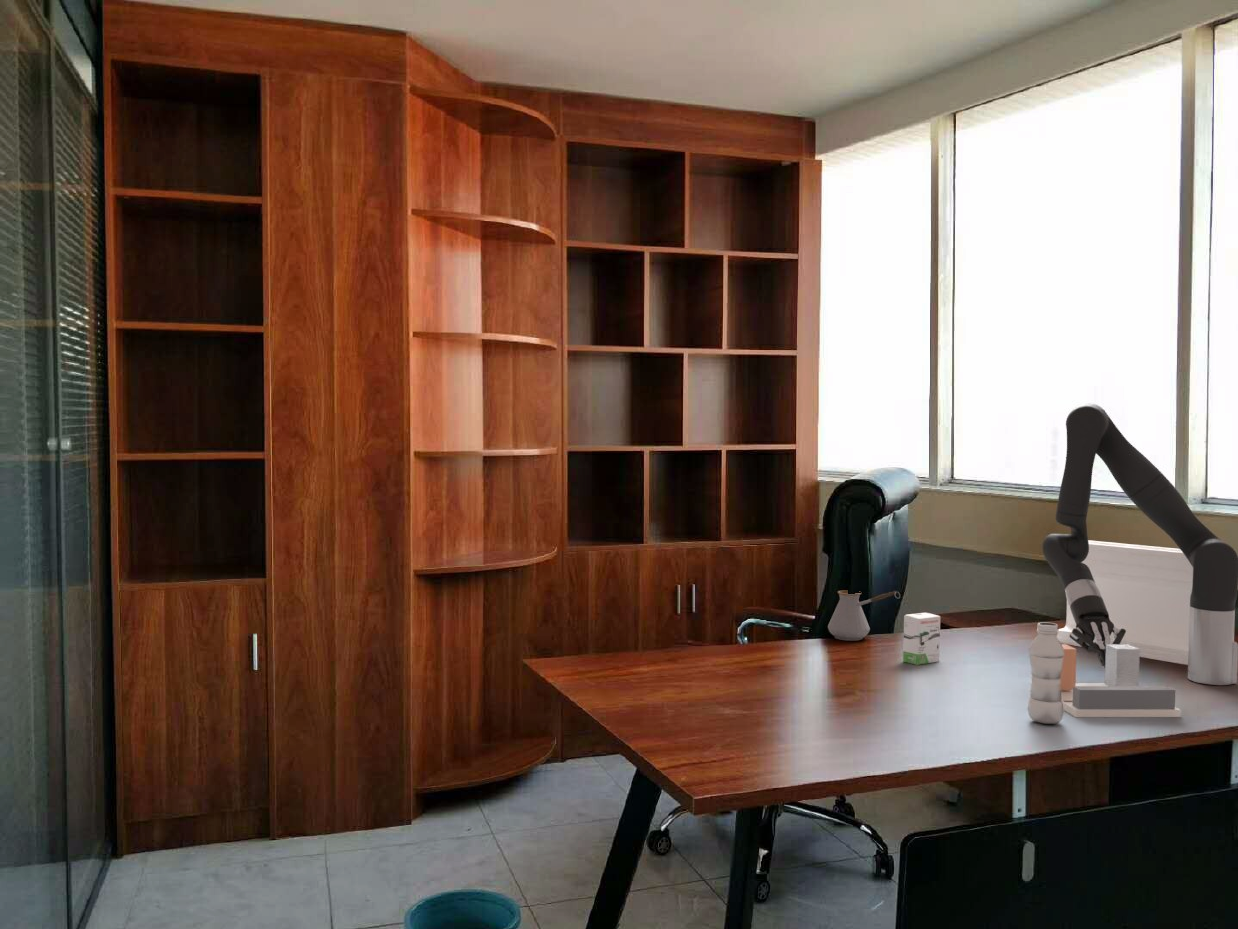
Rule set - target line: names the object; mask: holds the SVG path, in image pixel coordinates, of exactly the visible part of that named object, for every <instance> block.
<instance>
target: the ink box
mask: <svg viewBox="0 0 1238 929" xmlns="http://www.w3.org/2000/svg"><path fill="white" fill-rule="evenodd" d="M940 640H941V616H940V615H938V614H935V613H934V614H933V613H930V612H919V613H910V614H909V613H908V614H905V615H904V616H903V643H902V644H903V648H902V650H903V651H902V662H903V663H907V664H912V665H915V666H920V665H926V664H932V663H938V662H940V651H941V650H940V649H941V648H940V646H941V645H940V644H941V643H940V642H941V641H940Z"/></svg>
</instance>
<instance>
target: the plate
mask: <svg viewBox="0 0 1238 929" xmlns="http://www.w3.org/2000/svg"><path fill="white" fill-rule="evenodd" d="M1031 684H1032V682H1030V685H1031ZM1030 691H1031V688H1030ZM1061 698H1062V700H1061V701H1062V703H1063V710H1064V712H1066V713H1068V714H1069V715H1071V716H1072V717H1074V718H1181V717H1182V709H1180V708H1178V707H1176V689H1174V688H1172V687H1170V686H1164V685H1163V686H1159V685H1157V686H1156V685H1154V686H1151V685H1146V686H1144V685H1142V686H1141V685H1140V686H1107V685H1105V682H1102V683H1101V682H1098V683H1097V682H1094V683H1093V682H1091V683H1090V682H1089V683H1087V682H1078V683H1077V682H1076V686H1073V690H1061Z"/></svg>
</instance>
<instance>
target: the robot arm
mask: <svg viewBox="0 0 1238 929" xmlns="http://www.w3.org/2000/svg"><path fill="white" fill-rule="evenodd" d="M1065 429H1066V457H1065V464H1064V470H1063V475H1062V479H1061V484H1060V487H1059V488H1060V489H1059V494H1058V497H1057V498H1058V500H1057V505H1056V511H1055V521H1056V522H1057V523H1058V524H1059V525H1062V526H1066V527H1069V529H1070V533H1069V534H1068V533H1067V534H1066V533H1050V534H1048V535H1046V536H1045V538H1044V539H1043V541H1042V546H1041V547H1042V548H1041V549H1042V553H1043V556H1044V558H1045V560H1046V562H1047V563H1048V564H1049V566H1050V567H1051V569H1052V571H1054V573H1055V574H1056V575H1057V576H1058V577H1059V579H1060V581H1061V584H1062V586H1063V589H1064V591H1065V597H1066V602H1067V601H1068V605H1069V607H1070V609H1071V612H1072V615H1073V618H1074V620H1075V623H1076V629H1073V630H1072V632H1071V634H1070V638H1071V639H1073V640H1074V641H1075V642H1077V643H1078V644H1079V645H1080V646H1082V647H1081V648H1083V649H1084V650H1085V651H1087V652H1088V653H1090V654H1091V653H1095V654H1096V655H1097V656H1098V660H1099V662H1100V665H1101V666H1102V667H1104V669H1105V661H1106V644H1111V642H1110V635H1111V633H1112V632H1113V636H1114V638H1115V640H1114V642H1113V644H1120V642H1121V640H1122V639H1123V637H1124V635H1125V633H1126V630H1125V629H1121V630H1119V629H1117V628H1116V627H1114V624H1113V623H1112V622H1111V621H1110V619H1109V614H1108V611H1107V609H1106V606H1105V604H1104V601H1103V599H1102V596H1101V594H1100V591H1099V589H1098V587H1097V586H1096V584H1095V581H1094V579H1093V576H1092V574H1091V571H1090V569H1089V567H1088V566H1087V565H1086V564H1084V563H1081V562H1083V561H1084V560H1085V559H1086V557H1087V555H1088V552H1089V543H1088V540H1089V538H1088V527H1087V517H1088V512H1089V506H1090V500H1091V492H1092V479H1093V478H1092V477H1093V469H1094V465H1095V464H1094V463H1095V460H1096V455H1097V456H1098V457H1099V458H1100V459H1101V460H1102V461H1103V463H1104V464H1105V466H1106V467H1107V469H1108V471H1109V472H1110V474H1112V476H1113V478H1114V479H1115V481H1116V483H1117V485H1118V486H1119V487H1120V488H1121V490H1122V491H1123V493H1124V494H1125V495H1126V496H1127V497H1128V498H1129V499H1130V500H1131V502H1132V503H1133V504H1134V505H1135V506H1136V507H1137V508H1138V509H1139V510H1140V511H1141V512H1142V513H1143V514H1144V515H1145V516H1146V517H1147V518H1148V519H1150V520H1151V521H1152V523H1154V525H1156V526H1157V527H1159V528H1160V529H1161V530H1162V531H1163V532H1165V533H1166V534H1167V535H1168V536H1169V537H1170V538H1171V539H1172V541H1173V542H1174V543H1175V544H1176V546H1177V547H1178V549H1181V551H1182V552H1183V553H1184V555H1185V556H1186V558H1187V559H1188V560H1189V562H1190V564H1191V565H1192V567H1193V585H1192V593H1191V596H1190V619H1189V651H1188V665H1187V679H1188V680H1190V681H1193V682H1195V683H1199V684H1202V685H1203V684H1205V685H1213V686H1228V685H1233V684H1237V682H1238V680H1237V679H1238V642H1237V641H1235V620H1236V619H1235V618H1236V617H1235V616H1236V613H1235V612H1236V602H1237V598H1238V553H1237V552H1236V550H1235V549H1234V548H1233V546H1232V545H1229V544H1228V543H1226V542H1225V541H1223V540H1222V539H1221V538H1219V537H1218V536H1217V535H1216V534H1215V533H1213V532H1212V531H1211V530H1210V529H1209V528H1207V527H1206V525H1204V524H1203V523H1202V521H1200V520H1199V519H1198V518H1197V517H1196V515H1195V514H1194V512H1193V511H1192V510H1191V509H1190V506H1189V505H1188V503H1187V502H1186V501H1185V499H1184V498H1183V496H1182V495H1181V493H1180V492H1179V491H1178V489H1177V488H1176V487H1175V486H1174V485H1173V484H1172V483H1171V481H1170V480H1169V479H1168V478H1167V477H1166V476H1165V475H1164V473H1163V472H1161V471H1160V470H1159V468H1157V467H1156V465H1155V464H1153V463H1152V461H1150V460H1149V459H1148V458H1147V457H1146V456H1145V455H1144V454H1142V452H1140V451H1139V450H1138V449H1137V448H1136V447H1135V446H1133V445H1132V444H1131V443H1130V441H1128V440H1127V438H1126V437H1125V436H1124V435H1123V433H1121V431H1120V430H1119V428H1118V427H1117V425H1116V424H1115V423H1114V421H1113V420H1112V419H1111V417H1110V416H1109V415H1108V413H1107V412H1106V410H1105V409H1103V407H1102V406H1100V405H1098V404H1096V403H1090V402H1088V403H1087V402H1086V403H1081V404H1079V405H1077V406H1075V407H1074V408H1072V410H1071V411H1070V412H1069V413H1068V414H1067V418H1066V420H1065ZM1150 520H1149V521H1150ZM1086 643H1087V644H1086ZM1080 646H1079V647H1080Z"/></svg>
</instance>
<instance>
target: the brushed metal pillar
mask: <svg viewBox="0 0 1238 929" xmlns="http://www.w3.org/2000/svg"><path fill="white" fill-rule="evenodd" d="M1140 658H1141V657H1140V649H1138V648H1135V647H1133V646H1131V645H1128V644H1106V661H1105V668H1104V670H1105V674H1104V683H1105V685H1107V686H1139V684H1140V683H1139V681H1140Z"/></svg>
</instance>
